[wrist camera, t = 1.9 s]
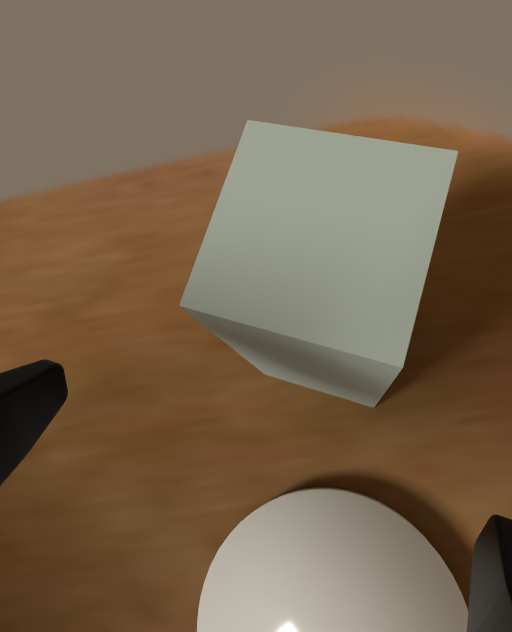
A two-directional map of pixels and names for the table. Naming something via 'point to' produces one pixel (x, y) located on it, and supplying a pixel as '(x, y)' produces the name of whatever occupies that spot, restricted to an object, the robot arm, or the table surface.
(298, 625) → the coaster
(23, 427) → the robot arm
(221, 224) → the sage block
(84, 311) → the table surface
